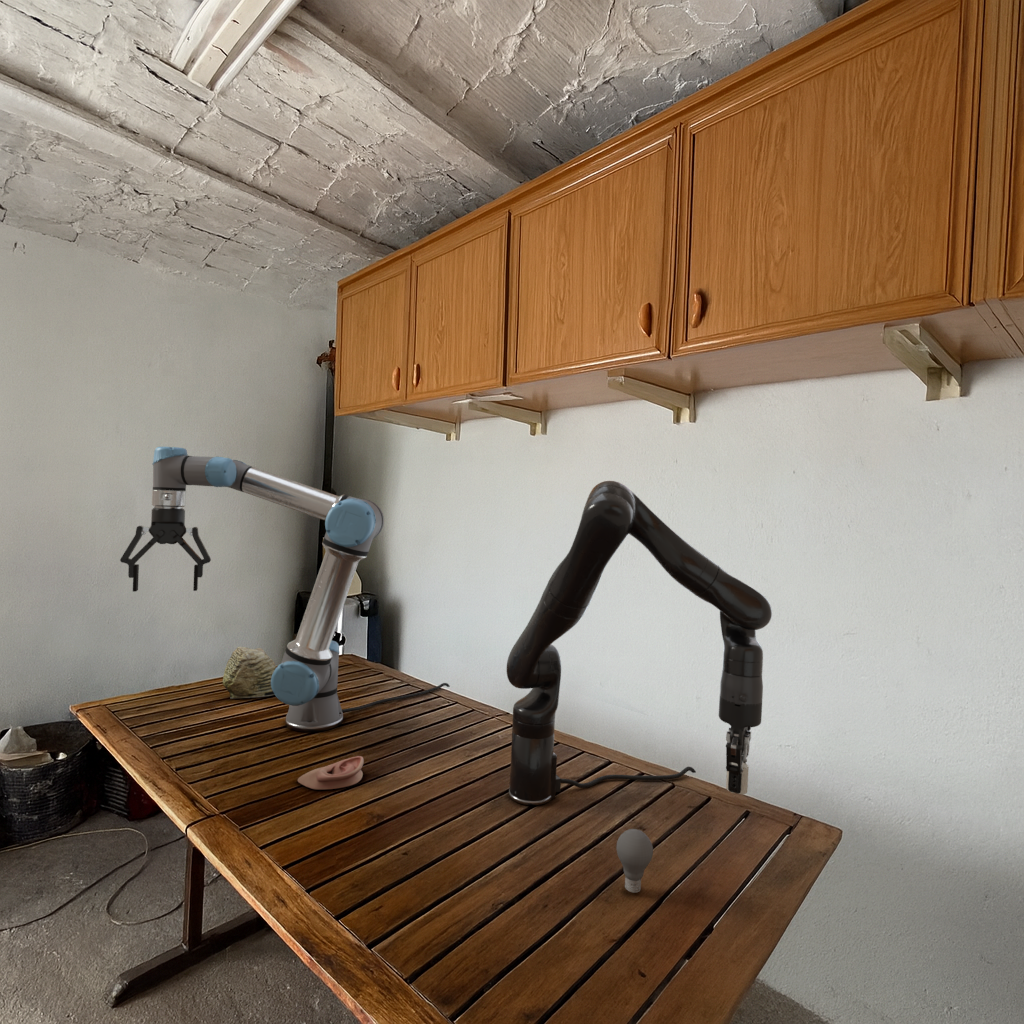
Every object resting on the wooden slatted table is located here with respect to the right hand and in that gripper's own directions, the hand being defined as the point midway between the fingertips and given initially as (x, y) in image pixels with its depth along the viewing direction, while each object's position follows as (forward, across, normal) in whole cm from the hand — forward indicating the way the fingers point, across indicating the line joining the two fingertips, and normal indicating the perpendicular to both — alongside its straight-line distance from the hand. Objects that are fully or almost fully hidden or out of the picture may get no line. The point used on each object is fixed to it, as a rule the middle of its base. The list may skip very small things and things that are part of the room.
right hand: (736, 786), depth 119 cm
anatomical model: (+13, +17, -84) cm, 86 cm away
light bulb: (+13, +21, -13) cm, 28 cm away
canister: (+1, 0, 0) cm, 1 cm away
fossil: (+13, -14, -145) cm, 146 cm away
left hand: (-25, +22, -137) cm, 141 cm away
